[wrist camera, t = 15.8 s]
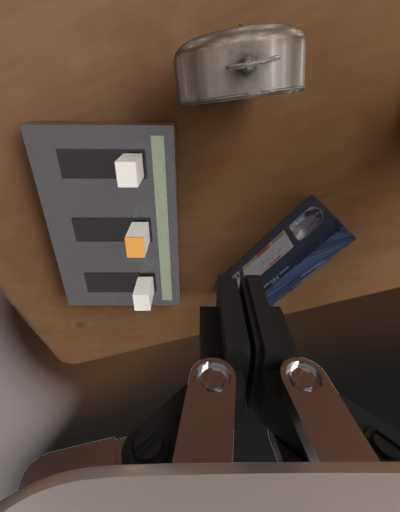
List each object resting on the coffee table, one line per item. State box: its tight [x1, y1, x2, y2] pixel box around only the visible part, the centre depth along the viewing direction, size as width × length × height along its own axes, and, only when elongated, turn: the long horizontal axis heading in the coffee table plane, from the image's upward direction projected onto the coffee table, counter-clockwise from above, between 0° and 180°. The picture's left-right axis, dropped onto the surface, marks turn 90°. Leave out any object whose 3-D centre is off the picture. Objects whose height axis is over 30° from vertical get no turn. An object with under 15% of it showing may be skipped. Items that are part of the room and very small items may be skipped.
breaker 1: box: [115, 153, 144, 187], centre depth 31 cm, size 2×2×4 cm
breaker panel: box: [19, 121, 181, 305], centre depth 38 cm, size 16×24×3 cm, turn 0°
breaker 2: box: [133, 277, 154, 311], centre depth 39 cm, size 2×2×4 cm
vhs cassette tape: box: [216, 195, 356, 307], centre depth 38 cm, size 18×3×10 cm, turn 138°
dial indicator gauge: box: [174, 23, 306, 107], centre depth 24 cm, size 11×5×16 cm, turn 97°
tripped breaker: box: [125, 222, 150, 258], centre depth 35 cm, size 2×2×4 cm
